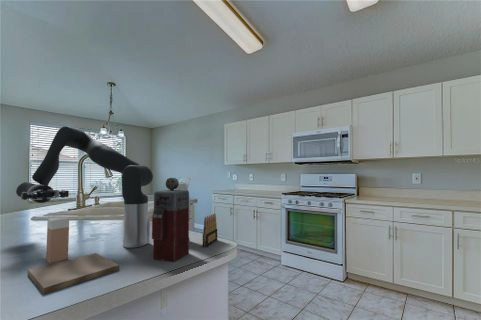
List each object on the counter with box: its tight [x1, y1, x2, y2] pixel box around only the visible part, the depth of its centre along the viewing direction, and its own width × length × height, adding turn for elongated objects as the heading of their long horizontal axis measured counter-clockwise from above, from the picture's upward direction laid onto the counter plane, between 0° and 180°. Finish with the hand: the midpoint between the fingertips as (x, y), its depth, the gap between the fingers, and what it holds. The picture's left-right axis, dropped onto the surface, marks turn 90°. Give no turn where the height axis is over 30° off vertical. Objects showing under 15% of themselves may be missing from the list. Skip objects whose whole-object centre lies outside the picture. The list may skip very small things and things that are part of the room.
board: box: [27, 252, 120, 295], centre depth 70 cm, size 18×18×2 cm
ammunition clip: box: [202, 212, 218, 249], centre depth 98 cm, size 11×2×12 cm, turn 161°
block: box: [45, 216, 70, 264], centre depth 81 cm, size 5×5×14 cm
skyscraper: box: [174, 177, 191, 243], centre depth 101 cm, size 8×8×28 cm
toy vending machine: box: [151, 177, 190, 263], centre depth 82 cm, size 9×11×28 cm
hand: (50, 195), depth 89 cm, fingers open, 8 cm apart
